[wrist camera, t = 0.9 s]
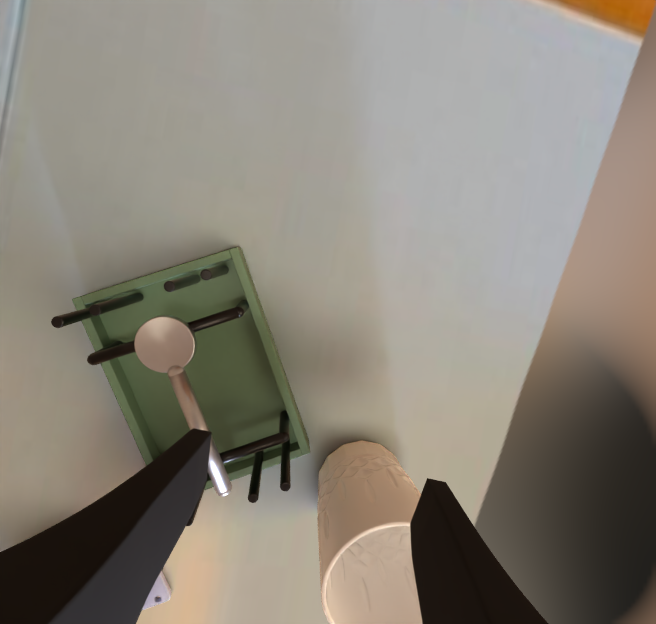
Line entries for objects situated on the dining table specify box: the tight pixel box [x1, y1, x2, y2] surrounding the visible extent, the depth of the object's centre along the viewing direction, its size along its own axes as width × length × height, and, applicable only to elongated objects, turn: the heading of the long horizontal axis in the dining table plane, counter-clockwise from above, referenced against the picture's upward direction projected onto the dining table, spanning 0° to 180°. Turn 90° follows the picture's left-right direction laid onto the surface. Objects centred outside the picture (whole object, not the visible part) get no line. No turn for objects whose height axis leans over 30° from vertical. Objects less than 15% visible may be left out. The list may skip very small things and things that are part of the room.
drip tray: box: [72, 247, 310, 490], centre depth 27 cm, size 16×11×2 cm
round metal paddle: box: [134, 315, 232, 496], centre depth 23 cm, size 12×3×1 cm, turn 17°
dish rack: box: [51, 265, 290, 526], centre depth 24 cm, size 14×10×6 cm
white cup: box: [317, 440, 423, 624], centre depth 25 cm, size 8×8×10 cm
